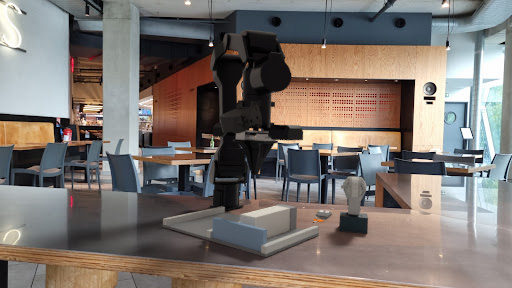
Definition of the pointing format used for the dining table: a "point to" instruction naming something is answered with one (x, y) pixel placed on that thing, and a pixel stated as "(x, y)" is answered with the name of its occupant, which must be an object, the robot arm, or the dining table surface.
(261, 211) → the cream rectangular block
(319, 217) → the key chain
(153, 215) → the dining table surface
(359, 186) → the bust statue
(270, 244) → the grey rimmed tray
